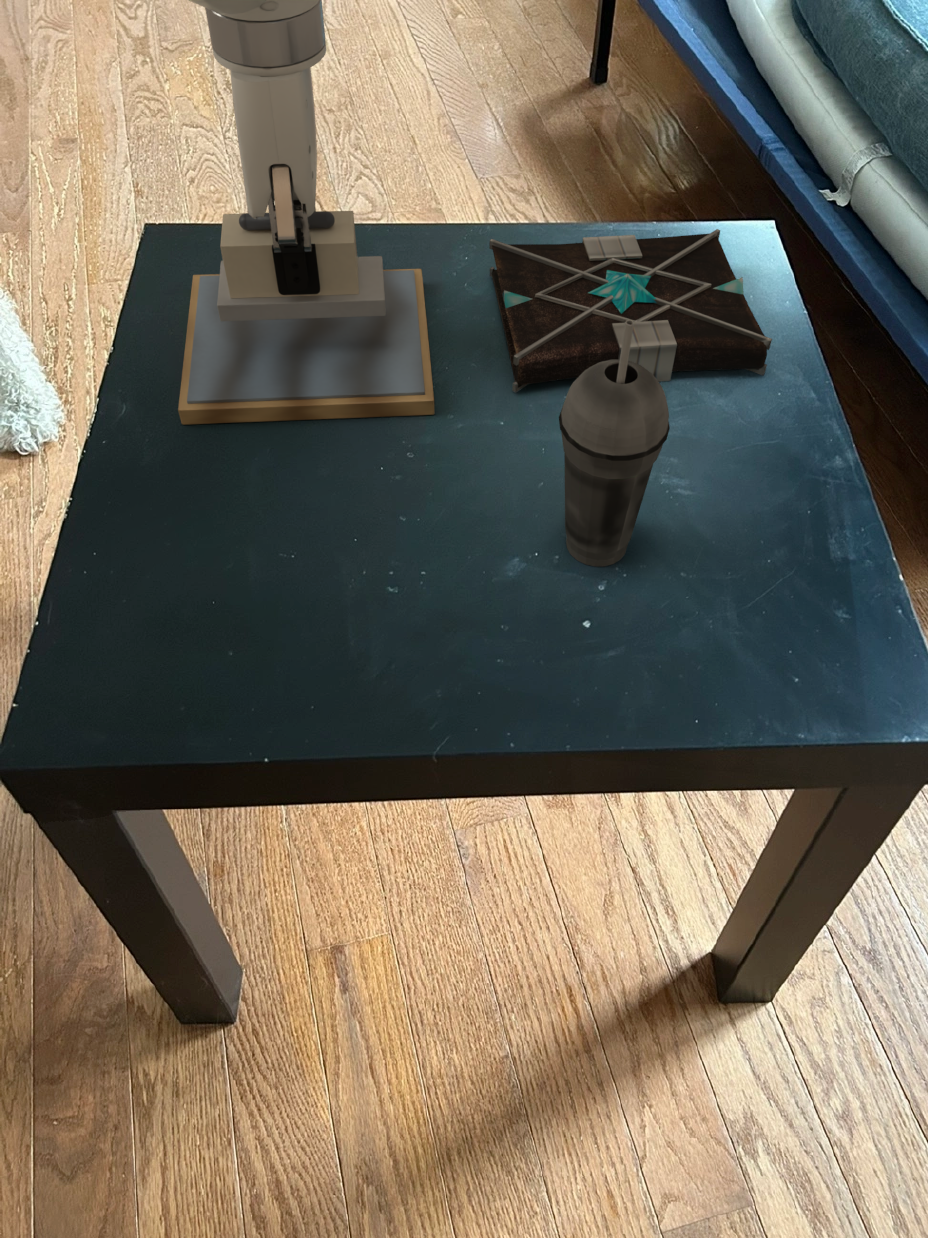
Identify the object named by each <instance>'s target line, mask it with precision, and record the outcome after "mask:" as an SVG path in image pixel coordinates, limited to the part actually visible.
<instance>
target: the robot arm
mask: <svg viewBox="0 0 928 1238" xmlns="http://www.w3.org/2000/svg"><path fill="white" fill-rule="evenodd" d="M188 1H189V2H192V3H194V4H196V5H198V6H201V7H203V8H204V10H205V14H206V15H205V16H206V21H207V26H208V32H209V38H210V43H211V49H212V55H213V57H214V59H215V60H216V62H217V63H218V64H219V65H221V66H222V67H224V68H225V69H228V70H229V71H230V83H231V96H232V103H233V112H234V121H235V129H236V135H237V144H238V149H239V157H240V164H241V173H242V178H243V187H244V193H245V201H246V208H247V209H246V210H247V213H249V215H250V216H251V217H253V218H256V219H257V217H264V216H265V213H267V209H268V213H269V216H270V223H271V231H272V239H273V245H272V253H273V259H274V266H275V272H276V279H277V285H278V291H279V293H280V294H281V295H307V294H318V293H319V292H320V281H319V272H318V264H317V256H316V247H315V244H311V236H310V227H309V216H310V215H312V214H313V212H314V211H317V209H316V202H317V201H316V198H317V175H318V174H317V173H318V152H317V151H318V146H317V144H318V143H317V123H316V109H315V100H314V99H315V98H314V88H313V78H312V67H314V66H315V65H317V64H318V63H320V62H321V61H322V59H323V58H324V57H325V56H326V53H327V42H326V40H327V39H326V29H325V19H324V9H323V0H188ZM295 218H301V227H302V232H301V229H300V228H296V225H295Z"/></svg>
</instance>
